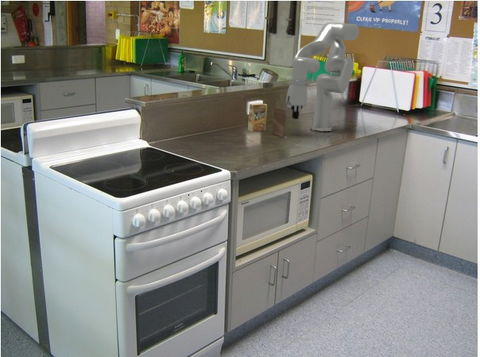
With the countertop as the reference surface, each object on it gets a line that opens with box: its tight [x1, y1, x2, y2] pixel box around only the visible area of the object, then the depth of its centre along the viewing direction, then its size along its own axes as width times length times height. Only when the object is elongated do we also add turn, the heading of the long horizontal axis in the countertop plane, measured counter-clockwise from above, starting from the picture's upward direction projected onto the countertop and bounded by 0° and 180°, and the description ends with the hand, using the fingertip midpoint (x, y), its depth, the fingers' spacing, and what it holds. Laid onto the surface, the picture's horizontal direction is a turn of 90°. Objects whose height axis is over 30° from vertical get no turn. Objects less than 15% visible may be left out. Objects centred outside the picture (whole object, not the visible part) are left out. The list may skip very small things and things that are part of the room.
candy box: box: [247, 103, 268, 133], centre depth 276 cm, size 9×4×15 cm, turn 118°
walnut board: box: [271, 106, 287, 138], centre depth 268 cm, size 1×10×14 cm, turn 26°
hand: (295, 118), depth 271 cm, fingers closed
